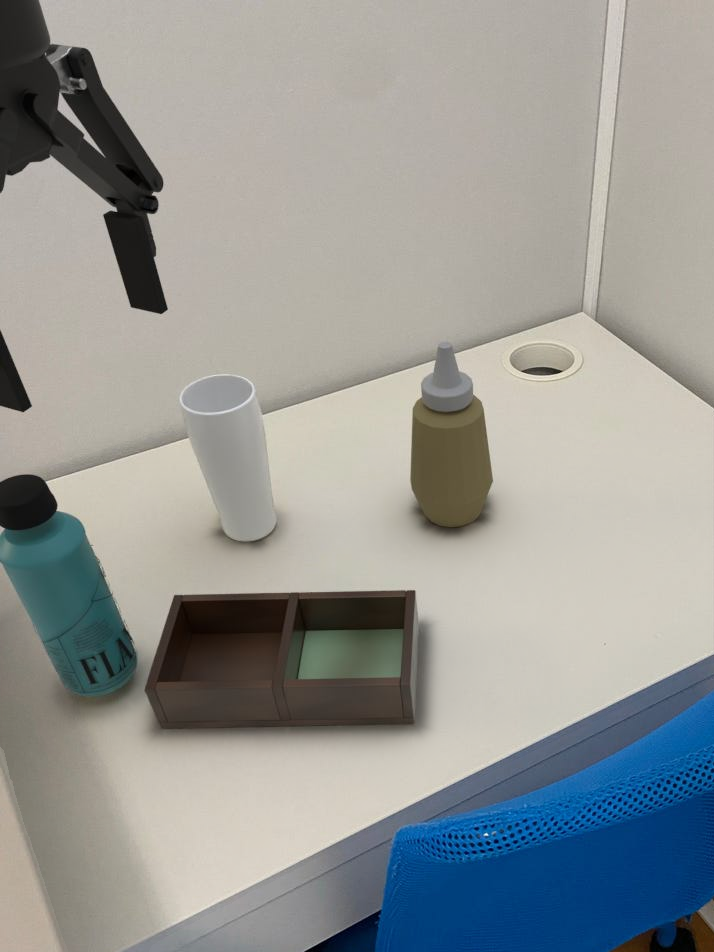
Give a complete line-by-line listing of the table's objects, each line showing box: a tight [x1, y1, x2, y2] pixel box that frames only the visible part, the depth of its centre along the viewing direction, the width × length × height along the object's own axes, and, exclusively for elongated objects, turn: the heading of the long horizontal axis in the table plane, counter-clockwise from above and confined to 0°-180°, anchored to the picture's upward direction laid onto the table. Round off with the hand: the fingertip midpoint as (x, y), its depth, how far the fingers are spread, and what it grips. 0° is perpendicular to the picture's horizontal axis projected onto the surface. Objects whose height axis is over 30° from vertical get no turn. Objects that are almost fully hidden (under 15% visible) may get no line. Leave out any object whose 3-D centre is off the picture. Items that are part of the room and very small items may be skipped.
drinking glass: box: [178, 373, 278, 542], centre depth 87 cm, size 7×7×15 cm
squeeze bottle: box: [409, 341, 494, 528], centre depth 87 cm, size 8×8×18 cm
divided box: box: [143, 589, 420, 729], centre depth 77 cm, size 20×11×5 cm, turn 90°
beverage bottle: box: [0, 473, 139, 697], centre depth 72 cm, size 6×7×20 cm
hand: (85, 354), depth 63 cm, fingers open, 13 cm apart
